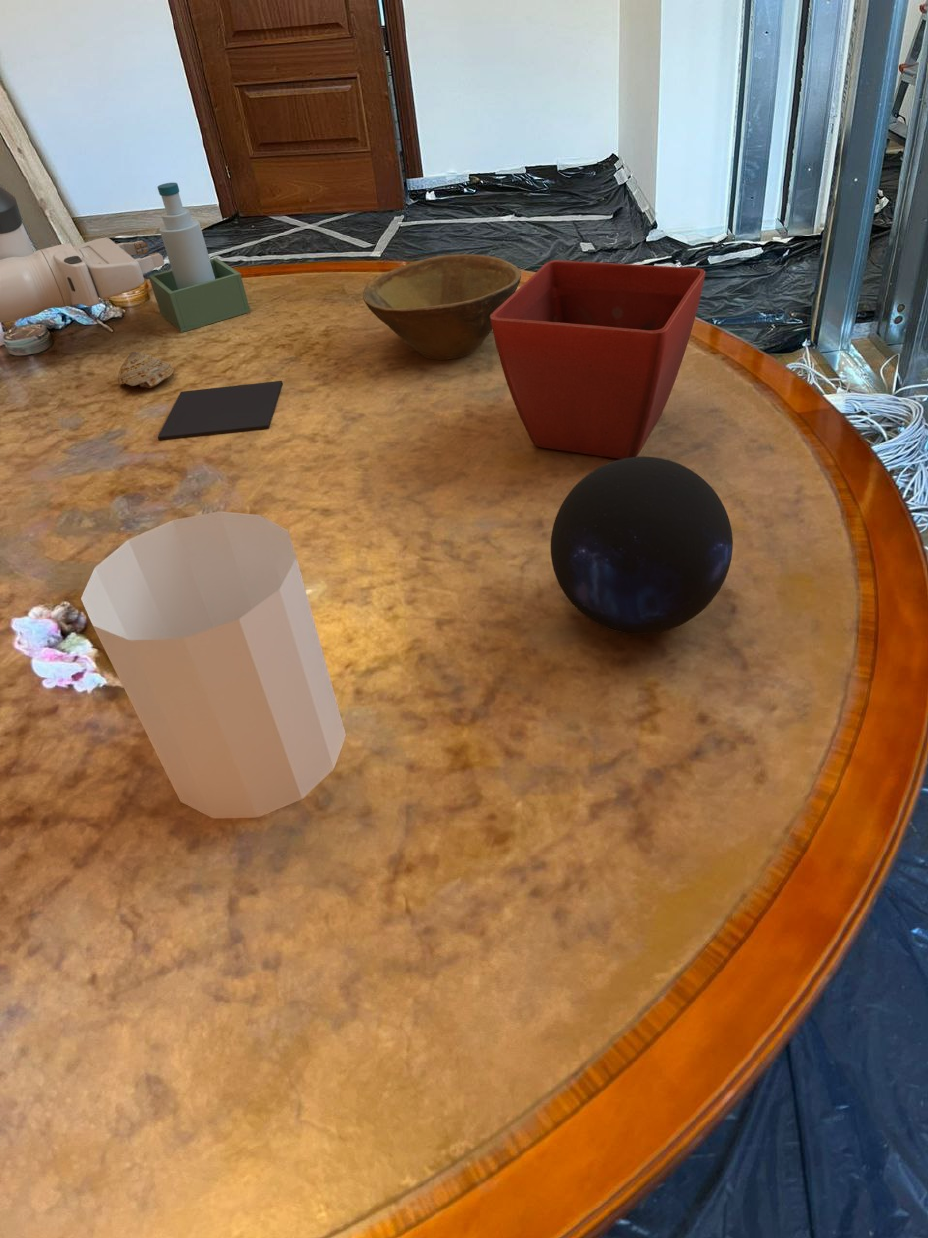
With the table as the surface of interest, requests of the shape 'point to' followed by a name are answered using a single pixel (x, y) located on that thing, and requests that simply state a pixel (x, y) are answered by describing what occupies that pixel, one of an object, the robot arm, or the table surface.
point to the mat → (222, 410)
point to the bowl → (443, 301)
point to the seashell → (143, 370)
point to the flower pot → (595, 351)
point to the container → (220, 660)
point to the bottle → (183, 241)
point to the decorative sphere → (641, 545)
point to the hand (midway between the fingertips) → (154, 251)
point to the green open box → (201, 298)
